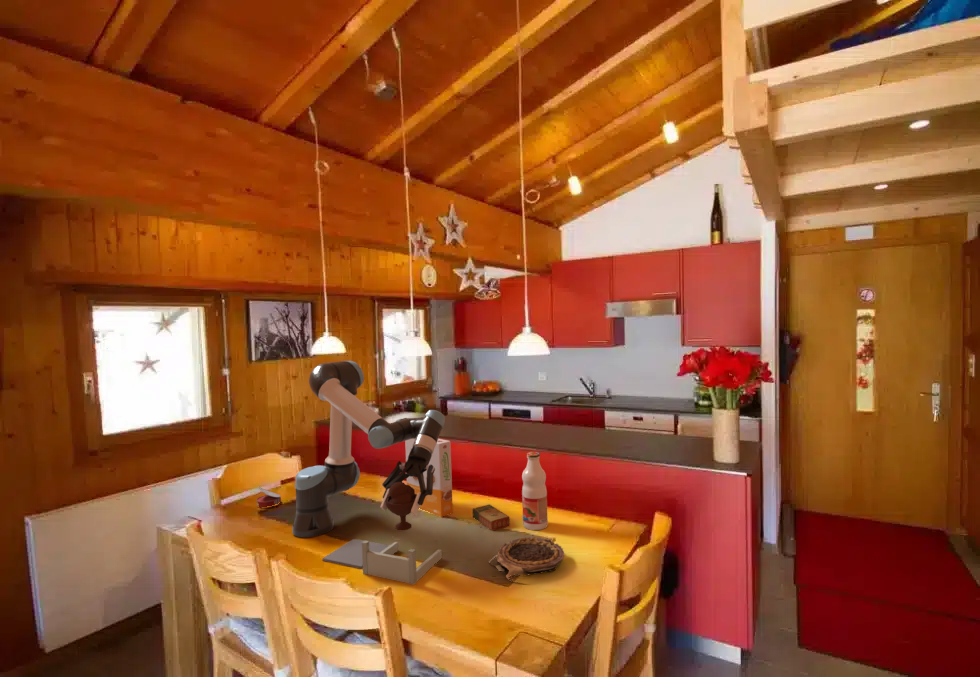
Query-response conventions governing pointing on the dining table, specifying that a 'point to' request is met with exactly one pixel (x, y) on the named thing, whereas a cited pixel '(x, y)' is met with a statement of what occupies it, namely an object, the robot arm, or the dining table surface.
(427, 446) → the robot arm
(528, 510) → the fruit juice
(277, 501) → the canned food
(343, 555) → the slate mat
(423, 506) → the cereal box
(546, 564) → the pie
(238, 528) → the dining table surface
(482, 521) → the carton
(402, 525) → the ice cream bowl
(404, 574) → the open crate
